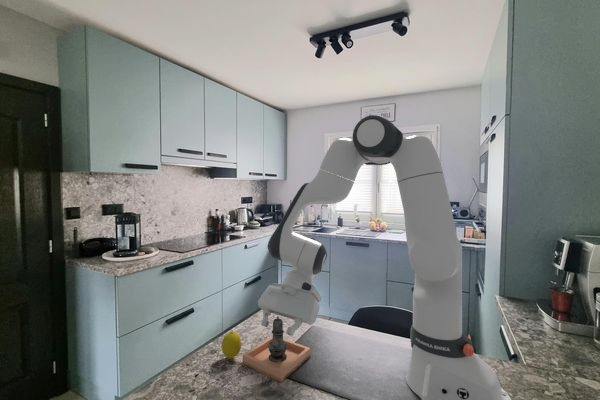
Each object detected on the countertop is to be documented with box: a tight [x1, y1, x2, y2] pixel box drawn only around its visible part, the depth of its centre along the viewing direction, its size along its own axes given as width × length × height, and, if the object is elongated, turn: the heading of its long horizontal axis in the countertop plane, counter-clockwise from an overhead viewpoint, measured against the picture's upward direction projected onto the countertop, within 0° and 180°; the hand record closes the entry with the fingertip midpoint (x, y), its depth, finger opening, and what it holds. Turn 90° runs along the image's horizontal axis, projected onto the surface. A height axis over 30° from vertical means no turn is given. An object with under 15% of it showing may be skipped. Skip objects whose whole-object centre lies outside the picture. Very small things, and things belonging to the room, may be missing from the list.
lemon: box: [221, 330, 242, 360], centre depth 80 cm, size 6×6×8 cm
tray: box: [242, 335, 311, 383], centre depth 79 cm, size 14×14×2 cm
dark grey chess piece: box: [268, 315, 288, 362], centre depth 79 cm, size 6×6×12 cm
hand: (276, 330), depth 79 cm, fingers open, 8 cm apart
